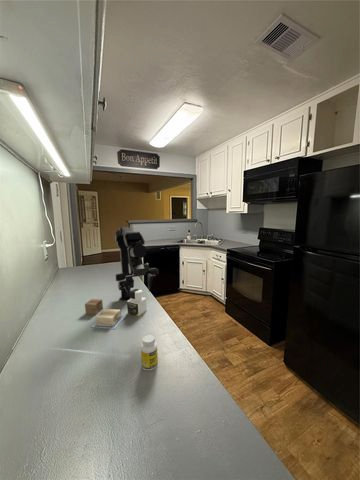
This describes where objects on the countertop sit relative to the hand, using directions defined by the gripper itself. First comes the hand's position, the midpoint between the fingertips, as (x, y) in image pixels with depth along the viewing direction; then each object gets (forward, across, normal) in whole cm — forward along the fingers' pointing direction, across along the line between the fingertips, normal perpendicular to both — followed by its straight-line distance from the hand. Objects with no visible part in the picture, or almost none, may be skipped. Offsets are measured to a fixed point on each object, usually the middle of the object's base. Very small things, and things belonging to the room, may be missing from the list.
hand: (139, 293), depth 90 cm
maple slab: (+12, -14, +12) cm, 22 cm away
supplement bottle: (+21, -2, -21) cm, 30 cm away
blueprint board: (+12, -14, +12) cm, 22 cm away
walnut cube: (+9, -20, +25) cm, 34 cm away
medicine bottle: (+12, 0, +16) cm, 20 cm away
